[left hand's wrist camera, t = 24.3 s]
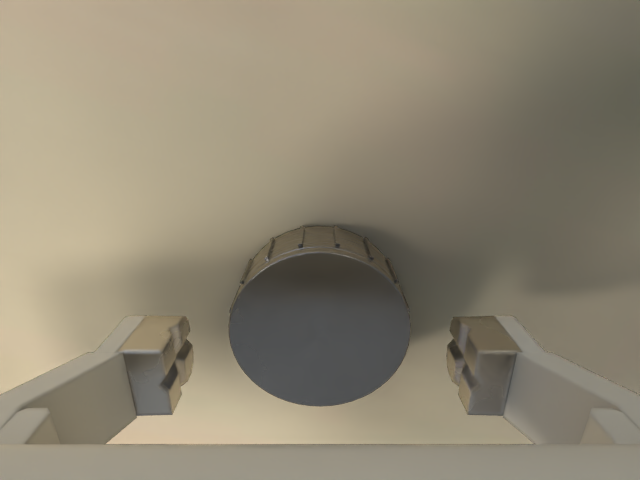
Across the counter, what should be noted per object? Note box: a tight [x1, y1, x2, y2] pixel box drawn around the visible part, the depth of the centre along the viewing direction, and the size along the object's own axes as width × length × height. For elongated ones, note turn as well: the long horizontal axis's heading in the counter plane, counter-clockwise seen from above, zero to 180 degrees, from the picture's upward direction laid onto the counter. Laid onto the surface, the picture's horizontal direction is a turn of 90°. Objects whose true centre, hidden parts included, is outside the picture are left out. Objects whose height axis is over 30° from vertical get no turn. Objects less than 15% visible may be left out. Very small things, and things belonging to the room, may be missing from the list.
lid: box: [229, 226, 411, 406], centre depth 11 cm, size 5×5×2 cm
